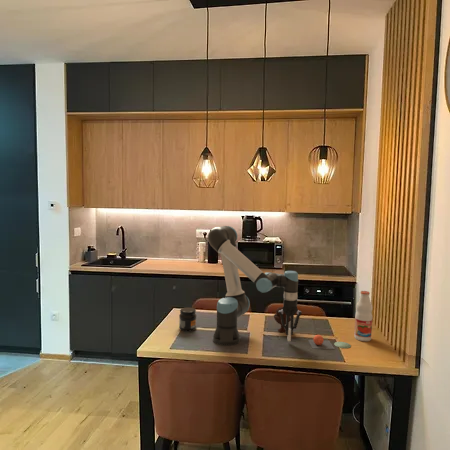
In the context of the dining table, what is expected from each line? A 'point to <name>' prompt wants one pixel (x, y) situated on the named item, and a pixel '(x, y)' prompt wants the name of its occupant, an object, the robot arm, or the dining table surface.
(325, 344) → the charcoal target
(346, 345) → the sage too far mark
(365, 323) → the fruit juice
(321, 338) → the ball
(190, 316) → the supplement container
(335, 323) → the dining table surface
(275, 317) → the ice cream bowl
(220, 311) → the robot arm
